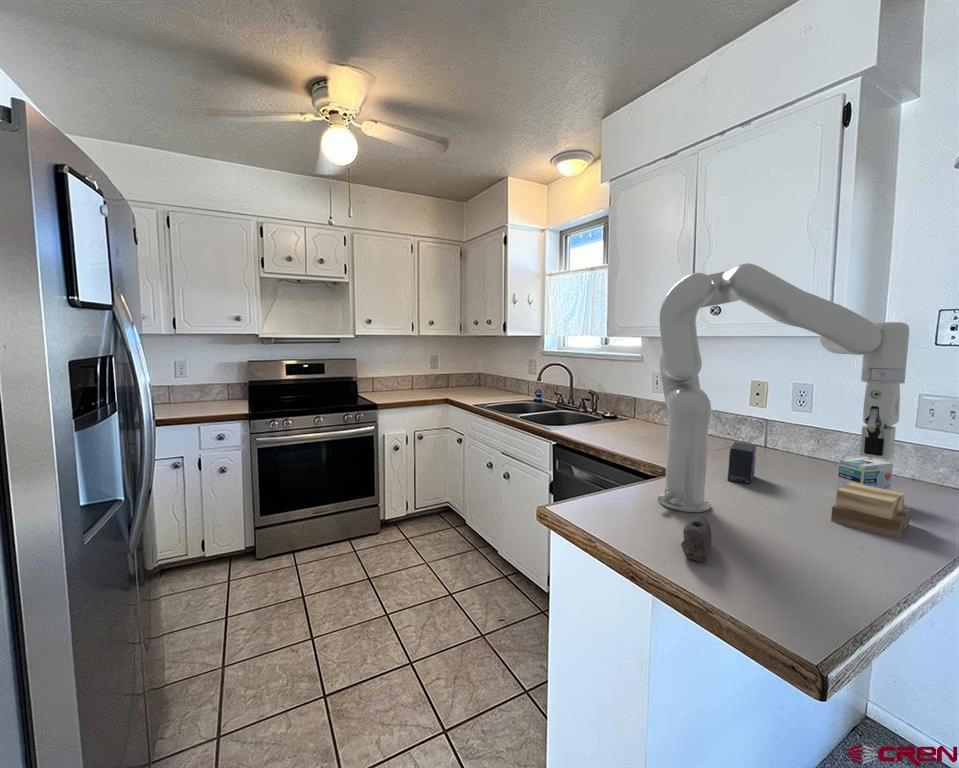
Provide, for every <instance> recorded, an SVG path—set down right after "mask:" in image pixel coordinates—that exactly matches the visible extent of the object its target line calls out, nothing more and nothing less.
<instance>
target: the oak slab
mask: <svg viewBox="0 0 959 768" xmlns="http://www.w3.org/2000/svg"><path fill="white" fill-rule="evenodd" d="M835 500H836V501H835V504H836V506H839V507H843V508H847V509H851V510H855V511H859V512H863V513H867V514H871V515H875V516H878V517H882V518H886V519H890V520H891V519H892V518H893V517H894V516H896V515H897V514H898V513H899V512H901V511H902V510H903V508H904V503H905V492H901V491H894V490H891V489H890V490H887V489H882V488H878V487H873V486H868V485H864V484H859V483H854V482H850V483H849V484H847V485H845V486H843V487H841V488H839V489H838V490H837V489H836V498H835Z"/></svg>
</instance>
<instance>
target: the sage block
mask: <svg viewBox="0 0 959 768" xmlns="http://www.w3.org/2000/svg"><path fill="white" fill-rule="evenodd" d="M878 429H880V428H878ZM896 429H897V428H896V426H890V427H887V426H884V430H883V437H882V439H884V445H883V455H882V456H877V455H870V454H865V453H864V447H865V437H866V430H867V424H865V425H863V426H861V439H860V448H859V449H860V450H859V456H861V457H869V458H872V459H878V460H879V459H880V460H881V459H882V460H884V461H885V460H886V461H889V460H890V459H891V458H893V457H894V452H895V451H894V450H895V439H896Z"/></svg>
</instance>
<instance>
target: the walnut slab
mask: <svg viewBox="0 0 959 768" xmlns="http://www.w3.org/2000/svg"><path fill="white" fill-rule="evenodd" d="M831 507H832V508H831V516H830V517H831V518H830V522H835V523H837V524H841V525H845V526H849V527H853V528H856V529H859V530H860V529H861V530H863V531H864V530H865V531H869V532H872V533H876V534H880V535H883V536H887V537H892V538H895V539H899V538H900V537H901V536H902V534H903V533H904V531H906V529H907V528H908V526H909V524H910V523H909V522H910V517H911V516H910V513H911V509H908V508H904V507H903V510H902V511H901V512H899V513H898V514H897V515H896V516H894V517H893V518H892V519H891V520H890V519H886V518H882V517H878V516H875V515H871V514H867V513H863V512H859V511H855V510H851V509H847V508H843V507H839V506H836V503H835V504H834V505H833V506H831Z"/></svg>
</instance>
